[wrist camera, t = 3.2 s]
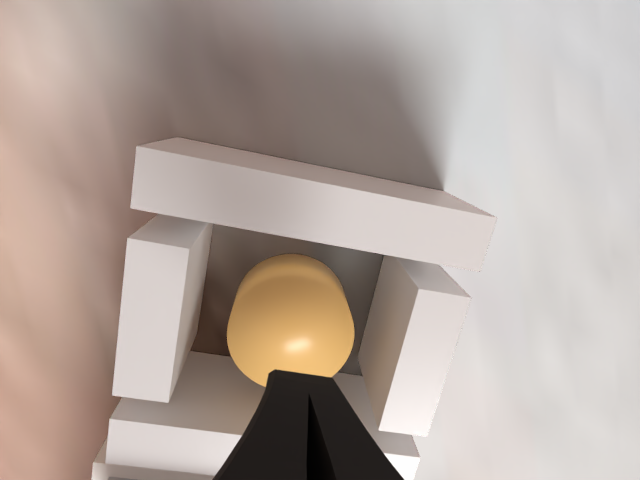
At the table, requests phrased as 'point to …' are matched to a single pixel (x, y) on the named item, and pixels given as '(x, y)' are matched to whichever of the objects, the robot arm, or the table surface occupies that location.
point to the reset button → (290, 319)
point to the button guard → (300, 223)
